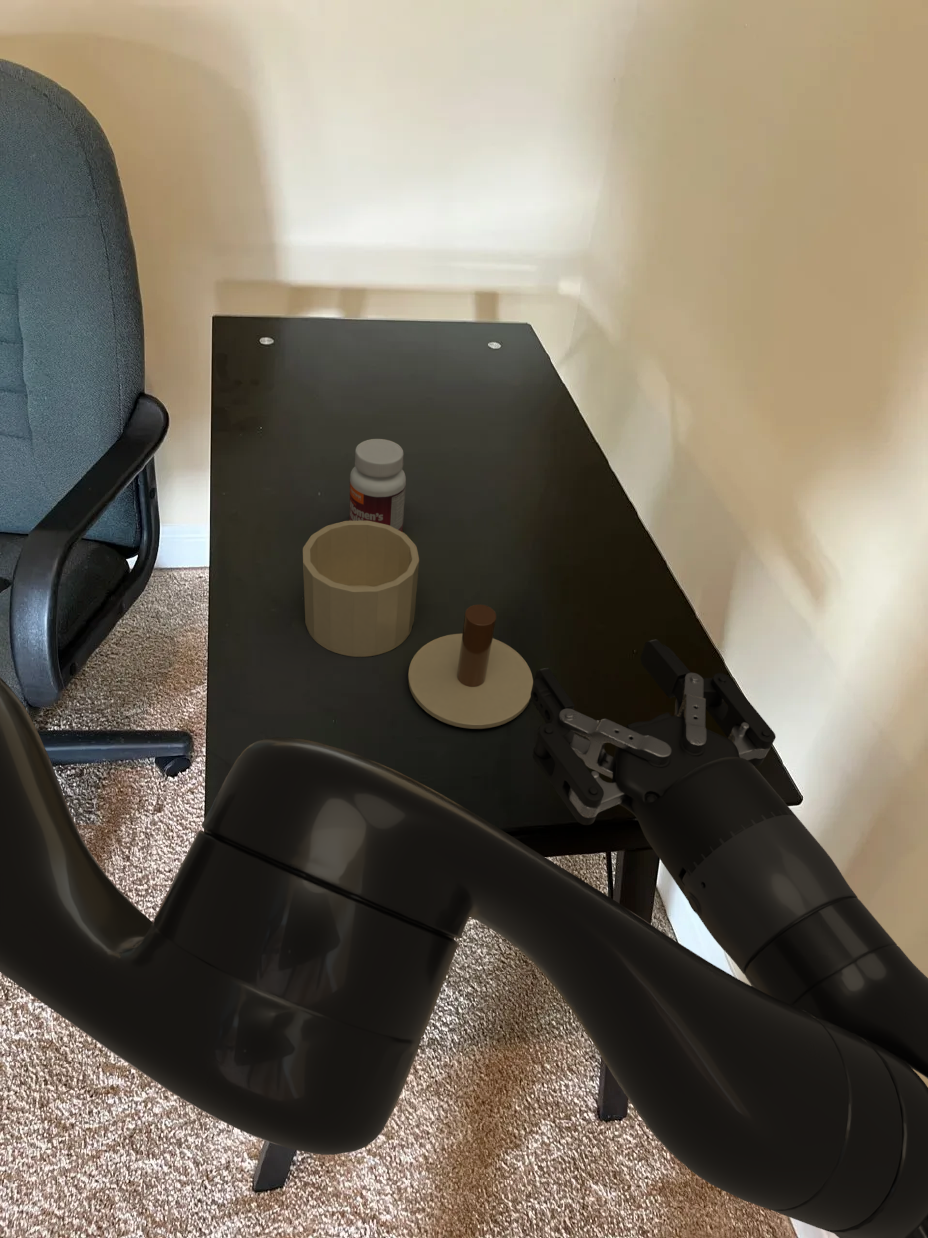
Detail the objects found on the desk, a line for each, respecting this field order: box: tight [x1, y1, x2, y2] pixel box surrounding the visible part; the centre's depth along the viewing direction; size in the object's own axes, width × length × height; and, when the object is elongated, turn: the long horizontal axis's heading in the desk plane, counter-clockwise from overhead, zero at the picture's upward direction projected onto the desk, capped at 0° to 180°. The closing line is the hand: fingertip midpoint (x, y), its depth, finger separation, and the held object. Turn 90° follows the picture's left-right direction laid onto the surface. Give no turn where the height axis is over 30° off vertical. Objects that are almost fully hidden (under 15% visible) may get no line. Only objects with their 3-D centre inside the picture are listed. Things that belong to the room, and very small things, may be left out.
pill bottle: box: [348, 438, 407, 532], centre depth 92 cm, size 6×6×11 cm
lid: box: [407, 604, 534, 730], centre depth 77 cm, size 12×12×9 cm
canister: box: [302, 520, 420, 658], centre depth 82 cm, size 11×11×8 cm
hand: (594, 662), depth 56 cm, fingers open, 8 cm apart
